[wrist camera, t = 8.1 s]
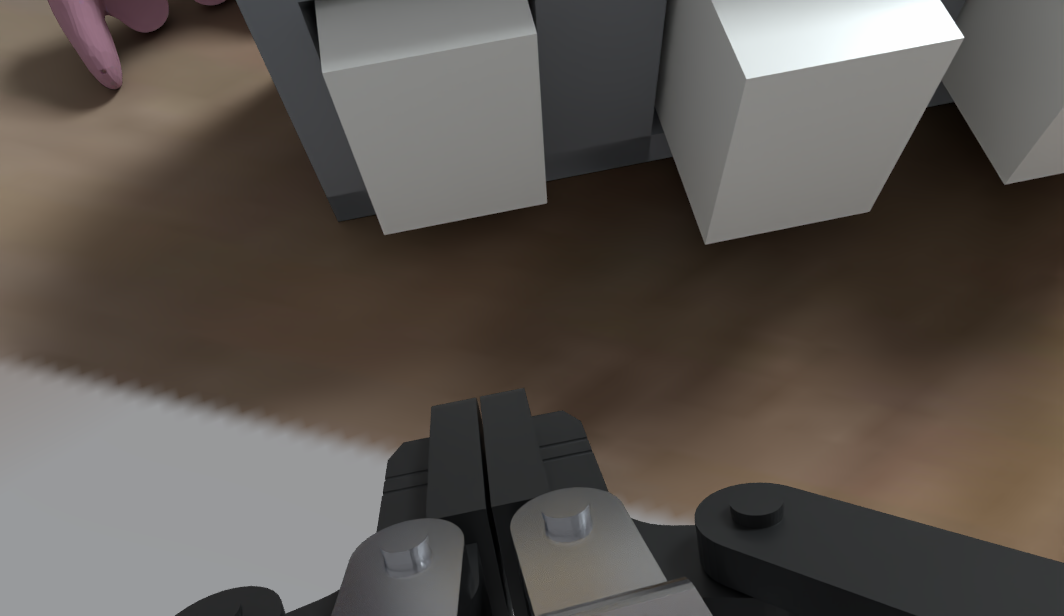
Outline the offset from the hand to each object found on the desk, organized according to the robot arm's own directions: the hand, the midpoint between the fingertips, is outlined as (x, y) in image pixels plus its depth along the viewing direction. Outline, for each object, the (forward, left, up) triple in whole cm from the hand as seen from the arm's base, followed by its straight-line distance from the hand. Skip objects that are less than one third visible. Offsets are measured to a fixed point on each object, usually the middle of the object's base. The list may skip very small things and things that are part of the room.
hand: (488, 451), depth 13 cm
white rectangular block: (+8, -15, -12) cm, 21 cm away
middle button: (-3, -18, -12) cm, 22 cm away
